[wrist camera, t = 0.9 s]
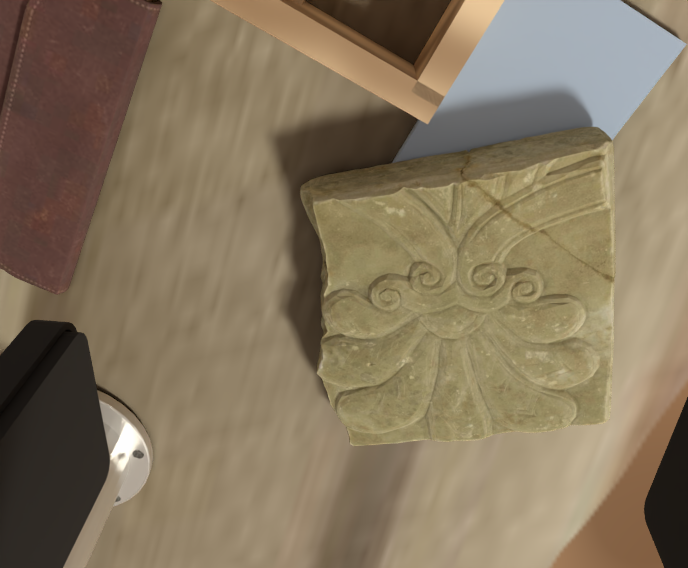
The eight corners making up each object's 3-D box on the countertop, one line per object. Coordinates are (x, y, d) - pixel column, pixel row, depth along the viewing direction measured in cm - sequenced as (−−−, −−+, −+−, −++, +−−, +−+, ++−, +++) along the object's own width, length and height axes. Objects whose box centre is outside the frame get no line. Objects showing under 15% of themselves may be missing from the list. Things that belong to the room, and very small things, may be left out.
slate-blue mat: (523, 247, 41) (525, 251, 40) (385, 172, 39) (385, 176, 38) (681, 42, 34) (686, 44, 34) (527, -60, 32) (529, -60, 32)
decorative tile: (623, 137, 32) (627, 455, 40) (595, 115, 38) (603, 399, 46) (265, 192, 36) (334, 475, 44) (286, 164, 41) (344, 421, 49)
